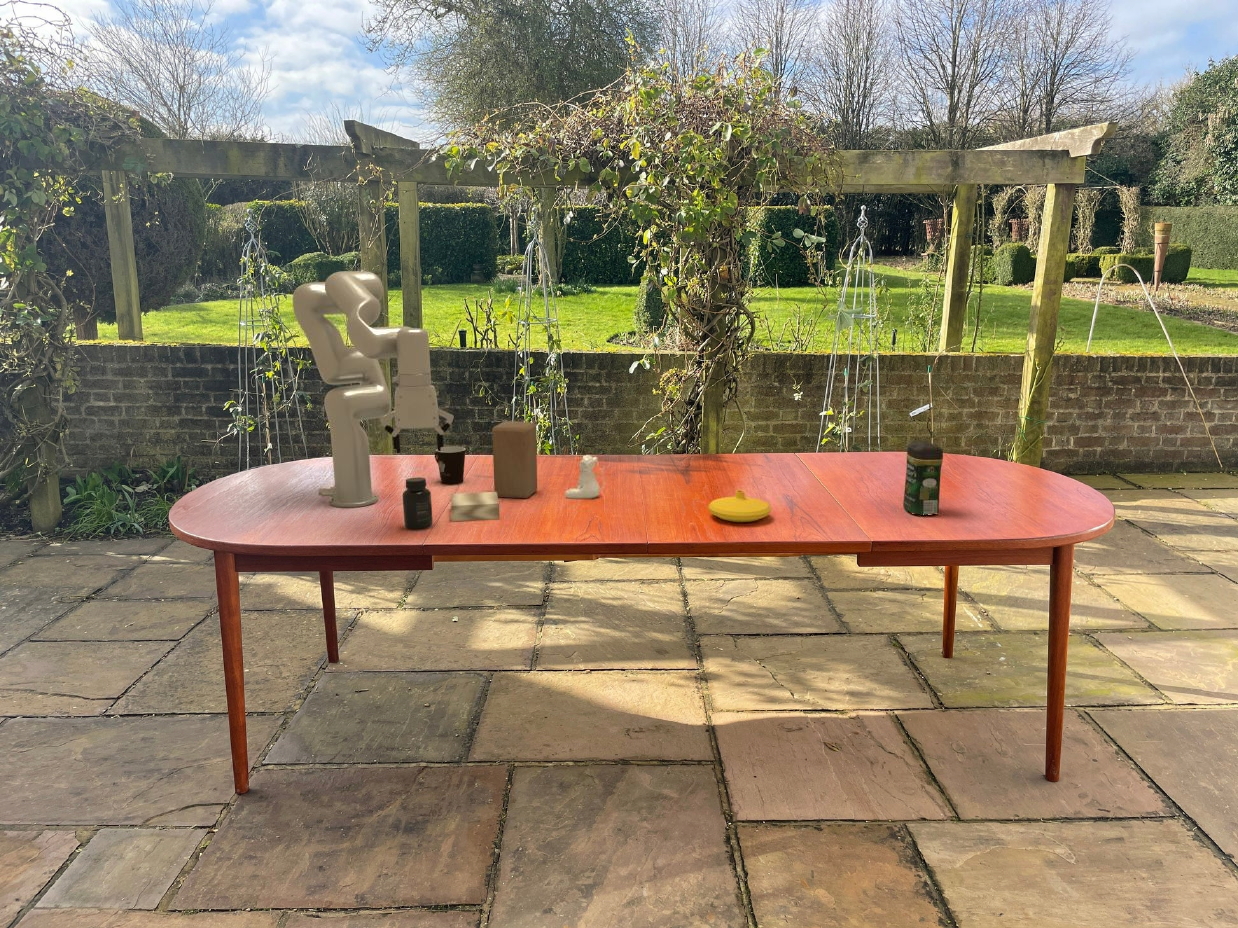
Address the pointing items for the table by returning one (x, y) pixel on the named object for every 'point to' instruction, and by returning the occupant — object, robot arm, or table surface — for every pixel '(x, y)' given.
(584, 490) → the seated beast figurine
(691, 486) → the table surface
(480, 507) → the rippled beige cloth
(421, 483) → the supplement bottle
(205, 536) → the table surface
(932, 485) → the coffee jar
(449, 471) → the coffee mug
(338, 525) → the table surface
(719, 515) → the vase
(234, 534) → the table surface
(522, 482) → the block
